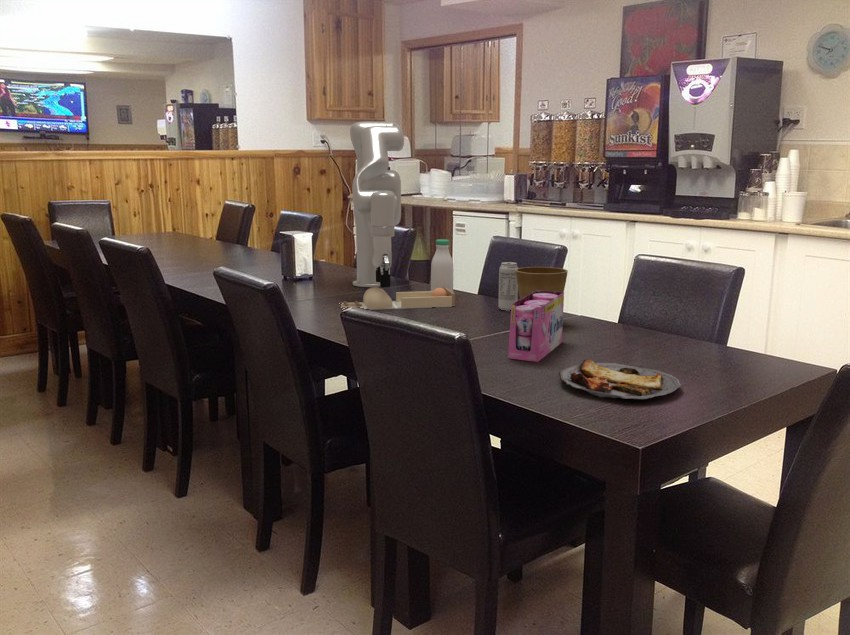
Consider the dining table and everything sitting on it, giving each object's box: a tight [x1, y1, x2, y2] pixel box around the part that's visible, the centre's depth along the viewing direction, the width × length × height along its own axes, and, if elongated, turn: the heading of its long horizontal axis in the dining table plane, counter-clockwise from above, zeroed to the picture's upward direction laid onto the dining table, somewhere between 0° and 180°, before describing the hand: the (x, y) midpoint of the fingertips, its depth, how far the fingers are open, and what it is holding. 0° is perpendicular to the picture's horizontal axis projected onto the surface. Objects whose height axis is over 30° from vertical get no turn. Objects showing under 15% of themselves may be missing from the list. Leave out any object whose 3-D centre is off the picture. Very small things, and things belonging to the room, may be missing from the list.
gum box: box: [507, 290, 565, 363], centre depth 194 cm, size 24×8×14 cm, turn 156°
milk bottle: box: [430, 238, 454, 292], centre depth 263 cm, size 8×8×20 cm
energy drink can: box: [497, 261, 519, 312], centre depth 244 cm, size 6×6×15 cm
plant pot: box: [516, 266, 568, 300], centre depth 224 cm, size 15×15×16 cm
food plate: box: [558, 358, 682, 400], centre depth 165 cm, size 25×23×4 cm
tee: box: [340, 300, 362, 308], centre depth 248 cm, size 7×7×1 cm
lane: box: [338, 287, 456, 311], centre depth 251 cm, size 11×36×8 cm, turn 102°
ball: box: [432, 288, 447, 297], centre depth 253 cm, size 5×5×5 cm
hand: (382, 284), depth 249 cm, fingers open, 9 cm apart
